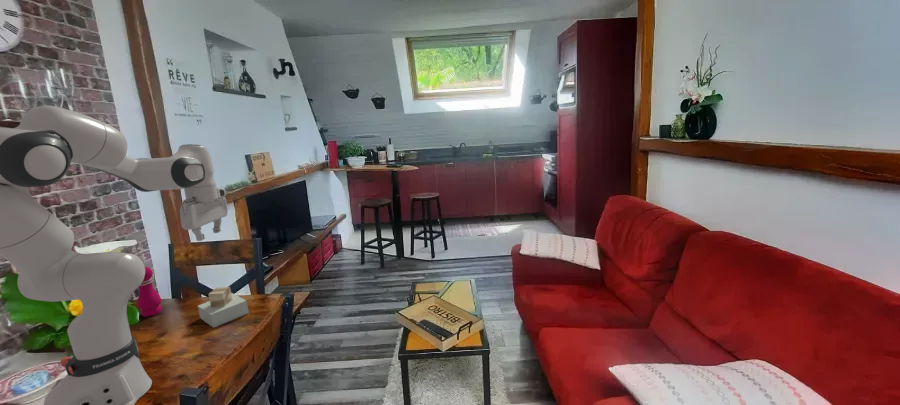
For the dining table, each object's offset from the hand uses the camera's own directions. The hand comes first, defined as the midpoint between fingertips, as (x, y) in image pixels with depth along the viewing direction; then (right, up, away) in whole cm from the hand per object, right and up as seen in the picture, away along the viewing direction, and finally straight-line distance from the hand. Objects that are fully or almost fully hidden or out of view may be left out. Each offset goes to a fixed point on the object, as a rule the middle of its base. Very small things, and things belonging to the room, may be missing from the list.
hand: (209, 236), depth 128 cm
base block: (-3, -30, +14) cm, 33 cm away
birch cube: (-3, -25, +13) cm, 29 cm away
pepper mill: (-34, -31, +20) cm, 50 cm away
